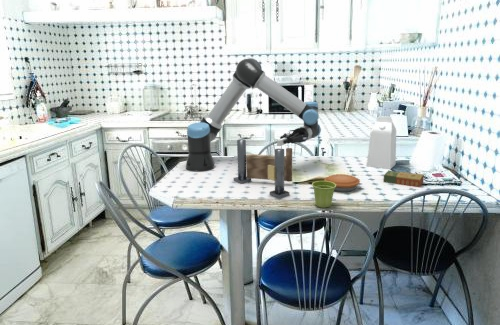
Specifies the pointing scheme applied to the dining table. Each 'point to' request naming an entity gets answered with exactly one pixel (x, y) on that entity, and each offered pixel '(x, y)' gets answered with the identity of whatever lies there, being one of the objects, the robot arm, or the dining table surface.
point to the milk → (382, 144)
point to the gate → (259, 165)
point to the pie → (343, 182)
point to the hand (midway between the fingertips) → (278, 143)
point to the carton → (403, 178)
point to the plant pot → (323, 193)
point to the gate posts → (273, 171)
